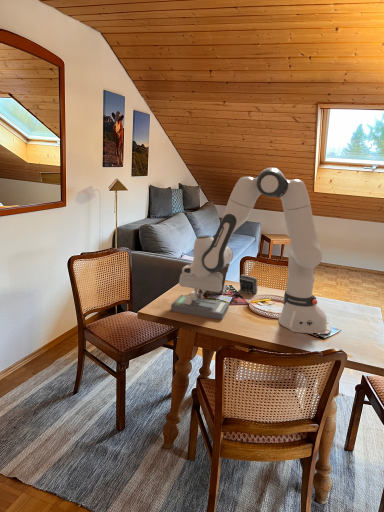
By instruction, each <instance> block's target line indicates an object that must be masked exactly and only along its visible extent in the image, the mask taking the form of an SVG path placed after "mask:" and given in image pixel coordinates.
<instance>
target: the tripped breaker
mask: <svg viewBox="0 0 384 512" xmlns="http://www.w3.org/2000/svg"><path fill="white" fill-rule="evenodd" d="M190 295H191V296H192V300H194V301H195V300H196V299H197V298H196V293H195V291H194V290H192V291H191V292H190Z"/></svg>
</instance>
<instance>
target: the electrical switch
mask: <svg viewBox="0 0 384 512" xmlns="http://www.w3.org/2000/svg"><path fill="white" fill-rule="evenodd" d="M239 291H241V292H243V293H248V294H251V295H254V294H255V293H257V292H258V278H257V277H255V276H251V275H247V274H244V273H243V274H241V275H240V278H239Z"/></svg>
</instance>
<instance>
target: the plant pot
mask: <svg viewBox="0 0 384 512" xmlns="http://www.w3.org/2000/svg"><path fill="white" fill-rule="evenodd" d="M230 263H231V262H230ZM230 263H229V264H227V265H226V266H225V267H223V268H222V269H221V270H220V271H219V272H220V273H221V274H222V275H223V281H222V290H221V291H220V292H213V291H207V290H206V291H205V292H204V295H208V294H216V295H215V296H218V295H222V294H223V293H224V287H225V282H226V279H227V273H228V272H229V267H230ZM221 274H220V275H221ZM199 290H200V292H201V293H203V292H202V290H201V289H199Z"/></svg>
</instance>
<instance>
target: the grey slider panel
mask: <svg viewBox="0 0 384 512" xmlns="http://www.w3.org/2000/svg"><path fill="white" fill-rule="evenodd" d="M186 296H187V295H183V294H180V296H178V297H177V299H175V300H174V301H173V302H172V303H171V305H170V307H171V308H170V312H176V313H181V314H188V315H193V316H196V317H197V316H198V317H204V318H209V319H215V320H220V321H222V320H223V319H224V317H225V315H226V313H227V312H228V310H229V306H230V305H229V304H230V303H229V302H224V301H221V300H220V301H219V300H213V299H209V298H197V299H196V300H195V301H194V300H192V303H191V304H190V305H188V304H185V299H186Z"/></svg>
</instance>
